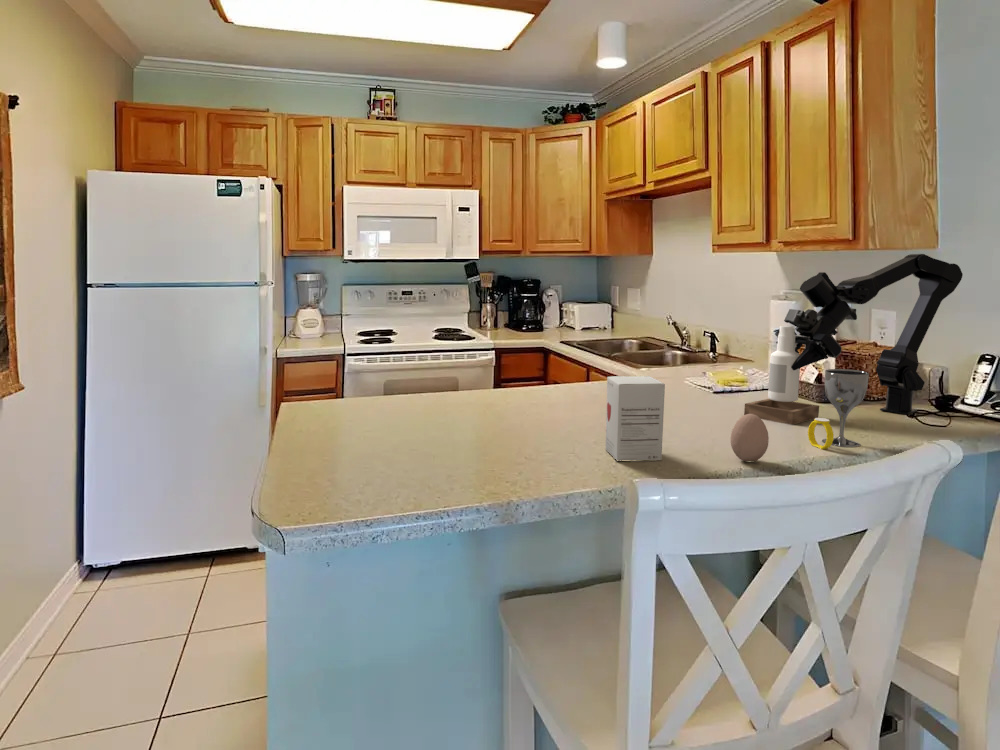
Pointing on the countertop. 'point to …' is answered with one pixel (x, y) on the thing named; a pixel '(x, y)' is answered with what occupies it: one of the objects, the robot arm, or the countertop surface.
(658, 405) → the supplement box
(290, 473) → the countertop surface
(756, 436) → the egg
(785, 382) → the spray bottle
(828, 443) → the watch
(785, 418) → the collar
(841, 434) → the wine glass
